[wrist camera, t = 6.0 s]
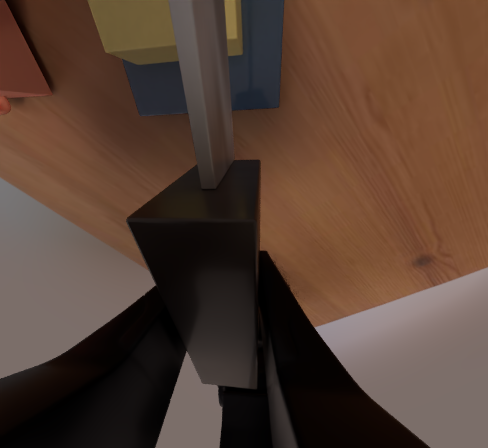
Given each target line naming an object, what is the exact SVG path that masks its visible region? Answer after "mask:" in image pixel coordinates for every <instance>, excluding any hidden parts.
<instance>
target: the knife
mask: <svg viewBox="0 0 488 448" xmlns="http://www.w3.org/2000/svg"><path fill="white" fill-rule="evenodd" d="M168 2H169V8H170V13H171V19H172V25H173V30H174V36H175V42H176V47H177V53H178V58H179V64H180V70H181V75H182V81H183V87H184V92H185V98H186V103H187V109H188V115H189V120H190V126H191V131H192V137H193V143H194V148H195V154H196V160H197V165H195V166H194V167H193V168H192V169H190V170H189V171H188V172H186V173H185V174H184V175H182V176H181V177H180V178H178V179H177V180H176V181H175V182H173V183H172V184H171V185H169V186H168V187H167V188H165V189H164V190H163V191H161V192H160V193H159V194H158V195H156V196H155V197H154V198H152V199H151V200H150V201H148V202H147V203H146V204H144V205H143V206H142V207H141V208H139V209H138V210H137V211H135V212H134V213H133V214H131V215H130V216H129V217H127V219H126V222H127V224H128V227H129V229H130V231H131V233H132V235H133V237H134V239H135V241H136V244H137V246H138V248H139V250H140V252H141V254H142V256H143V258H144V261H145V263H146V265H147V267H148V269H149V271H150V273H151V275H152V278H153V280H154V282H155V284H156V286H157V288H158V290H159V292H160V295H161V297H162V299H163V301H164V303H165V305H166V307H167V309H168V311H169V314H170V316H171V318H172V320H173V322H174V324H175V326H176V328H177V331H178V333H179V335H180V337H181V339H182V341H183V343H184V345H185V348H186V350H187V352H188V354H189V356H190V358H191V360H192V362H193V364H194V366H195V369H196V371H197V373H198V375H199V377H200V379H201V382H202V383H203V384H212V385H221V386H230V387H239V388H248V389H257V376H258V329H259V253H260V188H261V161H260V160H234V159H235V156H234V140H233V125H232V109H231V94H230V79H229V63H228V48H227V33H226V17H225V2H224V0H168Z"/></svg>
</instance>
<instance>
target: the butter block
mask: <svg viewBox="0 0 488 448" xmlns="http://www.w3.org/2000/svg"><path fill="white" fill-rule="evenodd" d="M87 1H88V3H89V6H90V9H91V12H92V15H93V18H94V21H95V24H96V27H97V29H98V32H99V35H100V38H101V41H102V44H103V47H104V50H105V52H106V53H109V54H111V55H114V56H116V57H119V58H121V59H124V60H127V61H129V62H132V63H134V64H137V65H143V64H153V63H163V62H174V61H179V58H178V53H177V47H176V42H175V36H174V30H173V25H172V19H171V13H170V8H169V2H168V0H87Z"/></svg>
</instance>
